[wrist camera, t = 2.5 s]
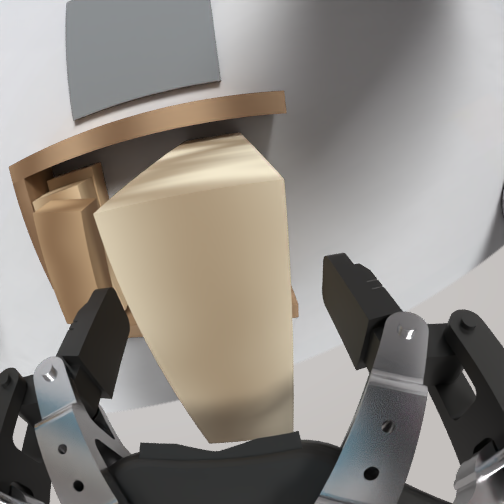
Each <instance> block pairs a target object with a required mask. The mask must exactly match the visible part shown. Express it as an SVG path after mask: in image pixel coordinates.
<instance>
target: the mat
mask: <svg viewBox="0 0 504 504" xmlns="http://www.w3.org/2000/svg"><path fill="white" fill-rule="evenodd" d="M66 60H67V74H68V85H69V94H70V102H71V109H72V116H73V121H74V120H78V119H80V118H83V117H85V116H88V115H90V114H93V113H96V112H98V111H101V110H104V109H107V108H110V107H113V106H116V105H119V104H122V103H125V102H129V101H132V100H135V99H139V98H142V97H146V96H150V95H154V94H158V93H162V92H166V91H170V90H175V89H179V88H184V87H189V86H194V85H200V84H206V83H212V82H218V81H221V79H220V71H219V63H218V56H217V48H216V41H215V33H214V25H213V17H212V10H211V2H210V0H71V1H69V2H67V4H66Z"/></svg>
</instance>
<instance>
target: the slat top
mask: <svg viewBox="0 0 504 504" xmlns="http://www.w3.org/2000/svg"><path fill="white" fill-rule="evenodd" d="M97 210H98V205H97V198H90V199H69V200H53V201H49V202H48V203H46V204H45V205H44V206H42V207H41V208H39V209H38V210H37V211H35V212H34V213H33V217H34V222H35V226H36V231H37V235H38V239H39V243H40V247H41V250H42V254H43V257H44V261H45V264H46V267H47V271H48V274H49V277H50V280H51V283H52V286H53V288H54V291H55V294H56V297H57V299H58V302H59V305H60V307H61V310H62V312H63V315H64V317H65V319H66V322H67V324H72V323H73V320H74V318H75V316H76V314H77V312H78V311H79V310H80V309H81V308H82V307H83V306H84V305H85V304H86V303H87V302H88V300H89V298H90V297H91V295H92V293H93V291H94V290H95V289H101V288H109V287H112V283H111V278H110V274H109V269H108V265H107V260H106V255H105V250H104V244H103V242H102V239H101V236H100V233H99V230H98V227H97V224H96V221H95V218H94V215H93V214H94V213H95V212H96V211H97ZM112 288H113V287H112Z"/></svg>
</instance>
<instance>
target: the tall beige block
mask: <svg viewBox="0 0 504 504" xmlns="http://www.w3.org/2000/svg"><path fill="white" fill-rule="evenodd" d="M93 215H94V218H95V221H96V224H97V227H98V230H99V233H100V236H101V239H102V242H103V244H104V247H105V250H106V253H107V255H108V258H109V261H110V263H111V266H112V268H113V271H114V273H115V276H116V278H117V281H118V283H119V285H120V288H121V290H122V292H123V295H124V297H125V299H126V301H127V304H128V306H129V308H130V310H131V312H132V314H133V317H134V319H135V321H136V323H137V325H138V327H139V329H140V331H141V333H142V335H143V337H144V339H145V341H146V343H147V345H148V346H149V348H150V350H151V352H152V354H153V356H154V358H155V359H156V361H157V363H158V365H159V367H160V368H161V370H162V372H163V374H164V375H165V377H166V379H167V380H168V382H169V384H170V385H171V387H172V389H173V390H174V392H175V393H176V395H177V397H178V398H179V400H180V401H181V403H182V404H183V406H184V408H185V409H186V410H187V412H188V414H189V415H190V416H191V418H192V420H193V421H194V422H195V424H196V425H197V427H198V428H199V430H200V431H201V432H202V434H203V435H204V436H205V438H206V439H207V440H208V442H209V443H224V442H238V441H247V440H254V439H257V438H262V437H269V436H275V435H281V434H286V433H291V432H293V411H294V409H293V407H294V405H293V404H294V402H293V400H294V393H293V328H292V299H291V276H290V257H289V240H288V224H287V210H286V196H285V184H284V179H283V177H282V176H281V175H280V174H279V173H278V172H277V171H276V170H275V169H274V168H273V166H272V165H271V164H270V163H269V162H268V161H267V160H266V159H265V158H264V157H263V156H262V155H261V154H260V153H259V151H258V150H257V149H256V148H255V147H254V146H253V145H252V144H251V143H250V142H249V141H248V140H247V139H246V138H245V137H244V136H243V135H242V134H241V133H240V132H239V133H231V134H225V135H218V136H212V137H206V138H200V139H195V140H189V141H184V142H183V143H181V144H180V145H179V146H177V147H176V148H174V149H173V150H171V151H170V152H169V153H167V154H166V155H164V156H163V157H162V158H160V159H159V160H158V161H156V162H155V163H154V164H152V165H151V166H150V167H148V168H147V169H146V170H145V171H143V172H142V173H141V174H139V175H138V176H137V177H136V178H134V179H133V180H132V181H131V182H129V183H128V184H127V185H126V186H125V187H123V188H122V189H121V190H120V191H119V192H117V193H116V194H115V195H114V196H113V197H112V198H110V199H109V200H108V201H107V202H106V203H105V204H104V205H102V206H101V207H100V208H99V209H98V210H97V211H96V212H95V213H94V214H93Z"/></svg>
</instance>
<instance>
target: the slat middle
mask: <svg viewBox="0 0 504 504" xmlns="http://www.w3.org/2000/svg"><path fill="white" fill-rule="evenodd" d="M90 198H97V205H98V209H99V208H100V204H99V201H98V197H97V194H96V190H95V187H94V183H93V179H92V177H89V178H86V179H83V180H80V181H77V182H74V183H72V184H69V185H66V186H63V187H61V188H58V189H55V190H53V191H50V192H48V193H46V194H44V195H43V196H41V197H40V198H38V199H36V200H35V201H33V206H34V209H35V211H37V210H38V209H39V208H41V207H42V206H44V205H45V204H46V203H48V202H49V201H53V200H69V199H90ZM104 250H105V247H104ZM105 255H106V260H107V265H108V269H109V274H110V278H111V283H112V287H113V288H114V289H115V291H116V292H117V295H118V297H119V299H120V301H121V304H122V306H123V308H124V310H126V308H127V305H128V304H127V301H126V299H125V297H124V295H123V292H122V290H121V288H120V285H119V283H118V281H117V278H116V276H115V273H114V271H113V268H112V266H111V263H110V261H109V258H108V255H107V253H106V250H105Z"/></svg>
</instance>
